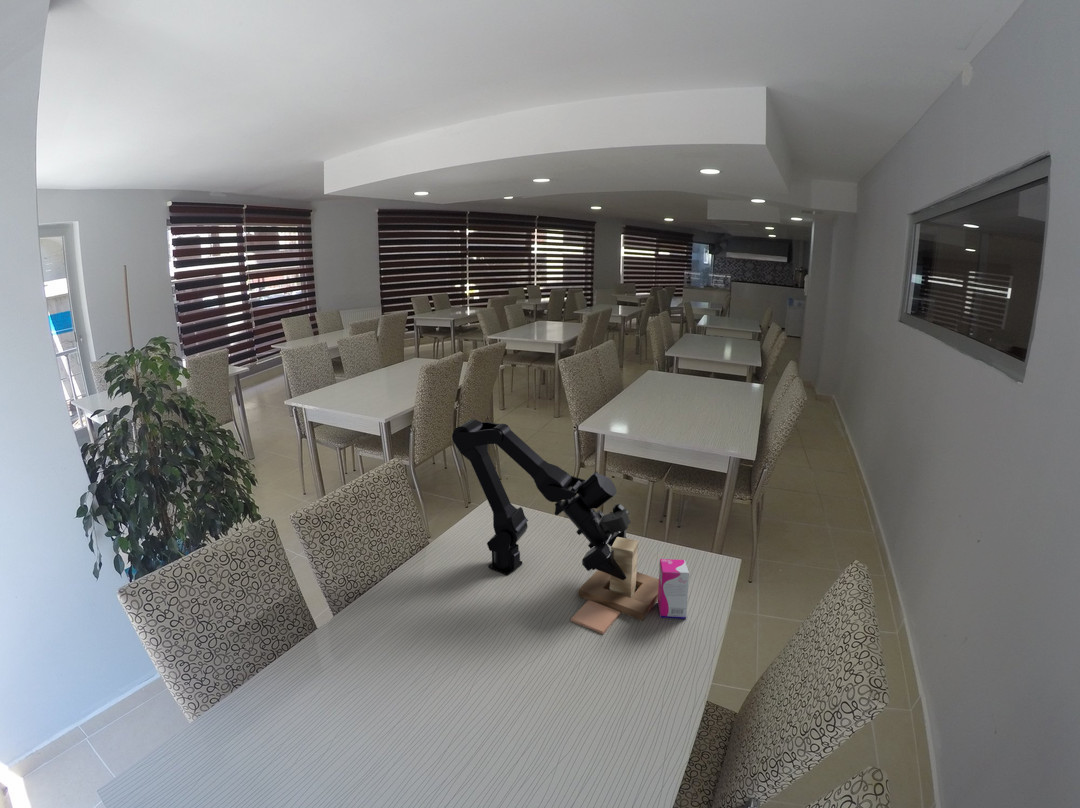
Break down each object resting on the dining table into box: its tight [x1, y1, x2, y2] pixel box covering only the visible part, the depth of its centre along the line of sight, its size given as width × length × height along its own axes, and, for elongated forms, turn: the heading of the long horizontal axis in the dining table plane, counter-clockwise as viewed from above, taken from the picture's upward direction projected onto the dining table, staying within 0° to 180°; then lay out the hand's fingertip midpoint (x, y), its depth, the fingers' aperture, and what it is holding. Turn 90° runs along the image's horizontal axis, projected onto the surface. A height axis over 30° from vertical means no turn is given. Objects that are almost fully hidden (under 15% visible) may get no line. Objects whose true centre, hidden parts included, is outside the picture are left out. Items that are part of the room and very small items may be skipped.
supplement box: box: [657, 558, 690, 620], centre depth 126 cm, size 6×6×12 cm
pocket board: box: [577, 570, 659, 622], centre depth 134 cm, size 16×14×2 cm
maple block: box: [609, 537, 639, 598], centre depth 132 cm, size 5×5×13 cm
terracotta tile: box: [570, 600, 621, 635], centre depth 125 cm, size 8×8×1 cm
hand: (629, 569), depth 132 cm, fingers open, 8 cm apart
